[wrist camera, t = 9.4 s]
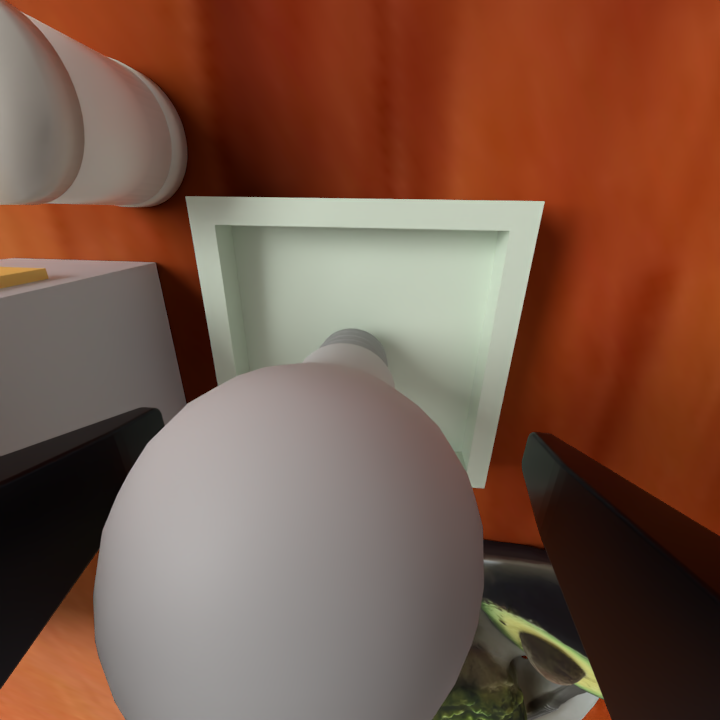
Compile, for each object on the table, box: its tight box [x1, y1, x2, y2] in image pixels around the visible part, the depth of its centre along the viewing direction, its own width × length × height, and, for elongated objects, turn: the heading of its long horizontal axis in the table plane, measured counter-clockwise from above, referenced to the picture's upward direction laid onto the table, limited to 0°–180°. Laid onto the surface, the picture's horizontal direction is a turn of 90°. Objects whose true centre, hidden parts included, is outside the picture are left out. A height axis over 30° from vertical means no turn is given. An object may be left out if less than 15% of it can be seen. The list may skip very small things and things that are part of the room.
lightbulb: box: [93, 328, 484, 720], centre depth 8 cm, size 6×6×11 cm
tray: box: [185, 196, 545, 488], centre depth 13 cm, size 11×11×2 cm
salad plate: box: [432, 540, 604, 720], centre depth 20 cm, size 19×18×5 cm
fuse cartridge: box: [0, 0, 188, 207], centre depth 9 cm, size 4×4×5 cm
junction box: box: [0, 258, 187, 456], centre depth 11 cm, size 6×9×9 cm
